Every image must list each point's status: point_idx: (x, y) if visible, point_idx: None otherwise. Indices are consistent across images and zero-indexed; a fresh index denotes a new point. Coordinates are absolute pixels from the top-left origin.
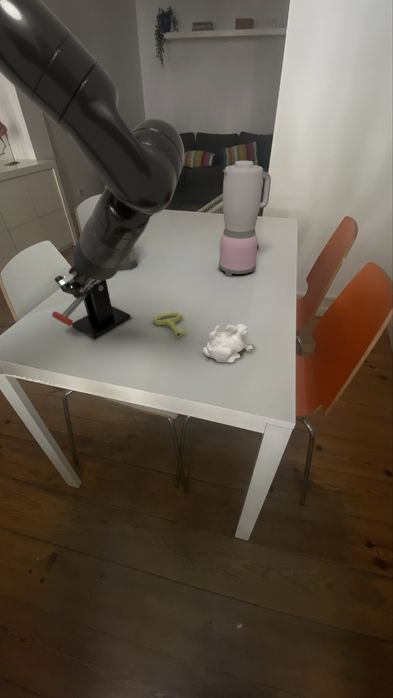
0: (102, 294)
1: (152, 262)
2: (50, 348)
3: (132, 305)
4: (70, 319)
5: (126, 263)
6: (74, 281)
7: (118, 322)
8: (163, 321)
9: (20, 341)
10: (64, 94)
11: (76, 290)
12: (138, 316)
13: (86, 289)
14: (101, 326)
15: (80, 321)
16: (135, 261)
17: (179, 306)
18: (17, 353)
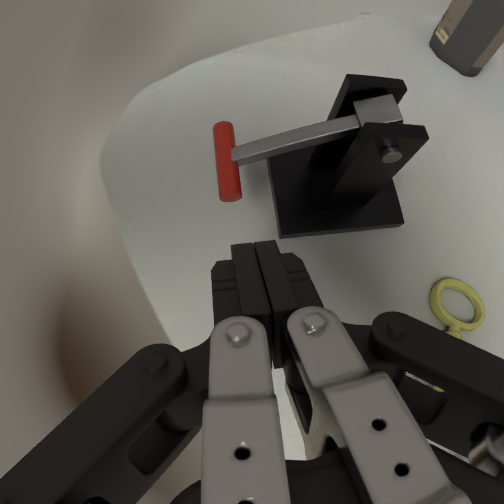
0: (382, 165)
1: (499, 92)
2: (176, 191)
3: (425, 181)
4: (236, 192)
5: (463, 62)
6: (206, 387)
7: (365, 227)
8: (446, 318)
9: (147, 121)
10: None
11: (173, 459)
12: (416, 234)
13: (281, 367)
14: (320, 213)
15: (288, 152)
16: (478, 70)
17: (495, 273)
18: (118, 158)
